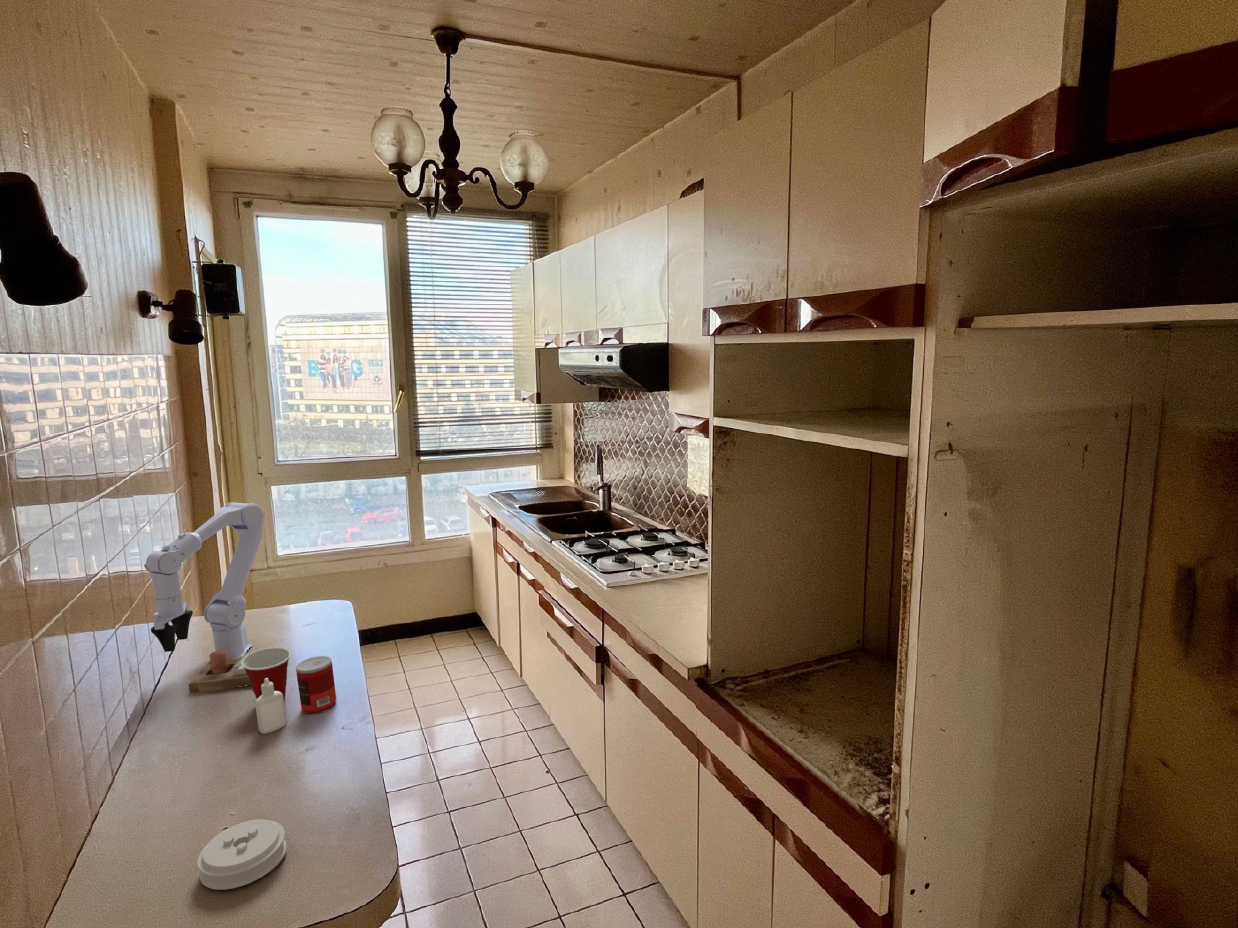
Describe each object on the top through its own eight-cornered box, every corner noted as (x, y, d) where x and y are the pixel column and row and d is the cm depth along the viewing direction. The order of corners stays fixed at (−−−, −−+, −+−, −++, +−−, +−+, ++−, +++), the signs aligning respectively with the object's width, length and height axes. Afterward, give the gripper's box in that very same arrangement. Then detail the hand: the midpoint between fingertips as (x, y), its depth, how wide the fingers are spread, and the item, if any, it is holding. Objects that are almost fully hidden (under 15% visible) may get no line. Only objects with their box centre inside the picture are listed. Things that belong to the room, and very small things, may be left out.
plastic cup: (260, 718, 161) (253, 670, 159) (239, 705, 167) (232, 659, 165) (305, 698, 169) (299, 652, 167) (283, 687, 176) (277, 643, 174)
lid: (300, 835, 120) (296, 809, 119) (265, 892, 108) (261, 863, 107) (226, 840, 120) (222, 814, 119) (183, 897, 107) (178, 869, 107)
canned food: (342, 697, 169) (337, 655, 167) (325, 714, 161) (320, 670, 159) (313, 697, 170) (307, 655, 168) (294, 714, 162) (288, 670, 160)
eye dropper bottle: (285, 729, 155) (279, 680, 153) (258, 735, 153) (250, 685, 151) (287, 720, 159) (281, 671, 157) (260, 726, 157) (253, 677, 155)
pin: (225, 673, 186) (221, 648, 184) (234, 675, 184) (230, 651, 182) (210, 679, 182) (206, 655, 181) (219, 682, 180) (215, 657, 179)
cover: (247, 658, 188) (246, 652, 188) (282, 654, 190) (281, 648, 189) (233, 675, 178) (232, 668, 178) (270, 670, 180) (269, 664, 179)
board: (212, 668, 189) (210, 660, 188) (282, 660, 192) (280, 652, 191) (189, 692, 175) (188, 683, 175) (265, 684, 178) (264, 674, 178)
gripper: (164, 588, 187) (172, 635, 189) (137, 607, 172) (146, 658, 175) (193, 585, 188) (200, 632, 190) (168, 604, 174) (176, 655, 176)
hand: (176, 644), depth 182 cm, fingers open, 7 cm apart
